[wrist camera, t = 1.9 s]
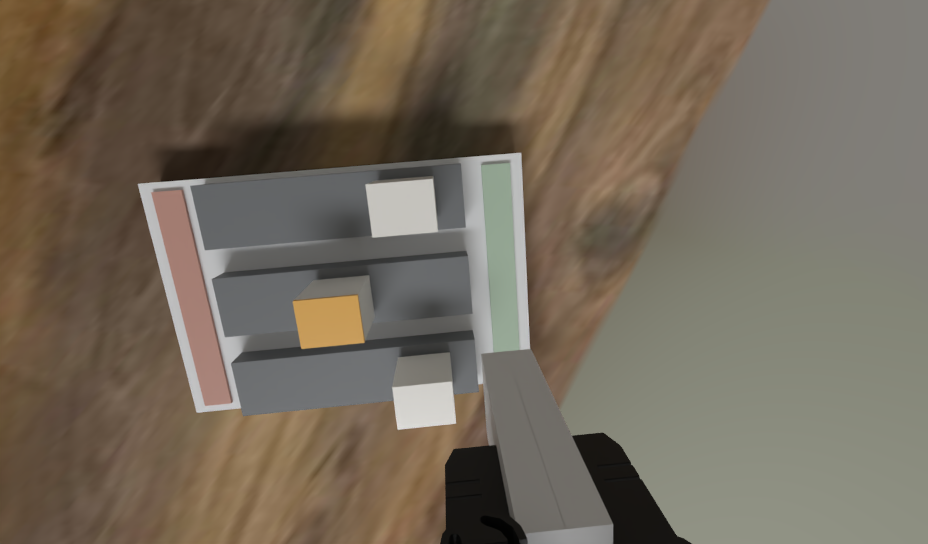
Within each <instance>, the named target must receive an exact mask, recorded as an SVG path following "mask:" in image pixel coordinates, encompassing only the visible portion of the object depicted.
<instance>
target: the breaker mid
mask: <svg viewBox="0 0 928 544" xmlns="http://www.w3.org/2000/svg"><path fill="white" fill-rule="evenodd" d="M293 307H294V312H295V318H296V323H297V328H298V334H299V339H300V345H301V349H307V348H317V347H328V346H338V345H348V344H358V343H365V340H366V338H367V335H368V332H369V330H370V327H371V325H372V322H373V320H374V317H375V315H374V307H373V300H372V293H371V286H370V278H369V275H366V276H355V277H344V278H333V279H322V280H313V281H312V282H311V283H310V284H309V285H308V286H307V287H306V288H305V289H304V290H303V291H302V292H301V293H300V294H299V295H298V296H297V297H296V298H295V299H294V300H293Z"/></svg>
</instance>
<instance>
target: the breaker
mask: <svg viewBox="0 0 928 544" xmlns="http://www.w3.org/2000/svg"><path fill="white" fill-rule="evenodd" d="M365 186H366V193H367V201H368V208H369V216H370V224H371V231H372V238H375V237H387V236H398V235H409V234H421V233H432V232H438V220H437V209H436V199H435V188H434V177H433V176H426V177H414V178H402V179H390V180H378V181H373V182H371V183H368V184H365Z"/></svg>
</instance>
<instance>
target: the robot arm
mask: <svg viewBox="0 0 928 544" xmlns="http://www.w3.org/2000/svg"><path fill="white" fill-rule="evenodd" d="M481 360H482V373H483V387H484V400H485V413H486V427H487V437H488V443H489V446H481V447H471V448H461V449H454V450H453V452H452V453H451V455H450V457H449V459H448V461H447V463H446V464H445V484H446V486H445V489H446V530H445V532H444V533H443V534H442V538H441V543H440V544H691V543H690V542H688V541H687V540H685V539H683V538H681V537H677V535H676V534H675V532H674V531H673V529H672V528H671V526H670V524H669V523H668V521H667V520H666V518H665V517H664V515H663V513H662V512H661V510H660V508H659V507H658V505H657V504H656V502H655V500H654V499H653V497H652V496H651V494H650V492H649V491H648V489H647V487H646V486H645V484H644V483H643V481H642V480H641V479H640V478H639V475H638V473H637V472H636V470H635V468H634V467H633V466H632V465H631V462H630V460H629V459H628V457H627V455H626V454H625V452H624V451H623V449H622V447H621V446H620V445H619V444H618V443H616V442H615V441H613V440H612V439H611V438H609V437H608V436H607V435H606V434H604V433H595V434H585V435H575V436H572V435H571V433H570V431H569V429H568V427H567V425H566V423H565V421H564V418H563V416H562V414H561V412H560V410H559V408H558V405H557V403H556V401H555V399H554V397H553V395H552V393H551V391H550V388H549V386H548V384H547V382H546V380H545V378H544V376H543V374H542V371H541V369H540V367H539V365H538V363H537V361H536V359H535V357H534V354H533V352H532V350H531V349H525V350H514V351H504V352H493V353H482V354H481Z"/></svg>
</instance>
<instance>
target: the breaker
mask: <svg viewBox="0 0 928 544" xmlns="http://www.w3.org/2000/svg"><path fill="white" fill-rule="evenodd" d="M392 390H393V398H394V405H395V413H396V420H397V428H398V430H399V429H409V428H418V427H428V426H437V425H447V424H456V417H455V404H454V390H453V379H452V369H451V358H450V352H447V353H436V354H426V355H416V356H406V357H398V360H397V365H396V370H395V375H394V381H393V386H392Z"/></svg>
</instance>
